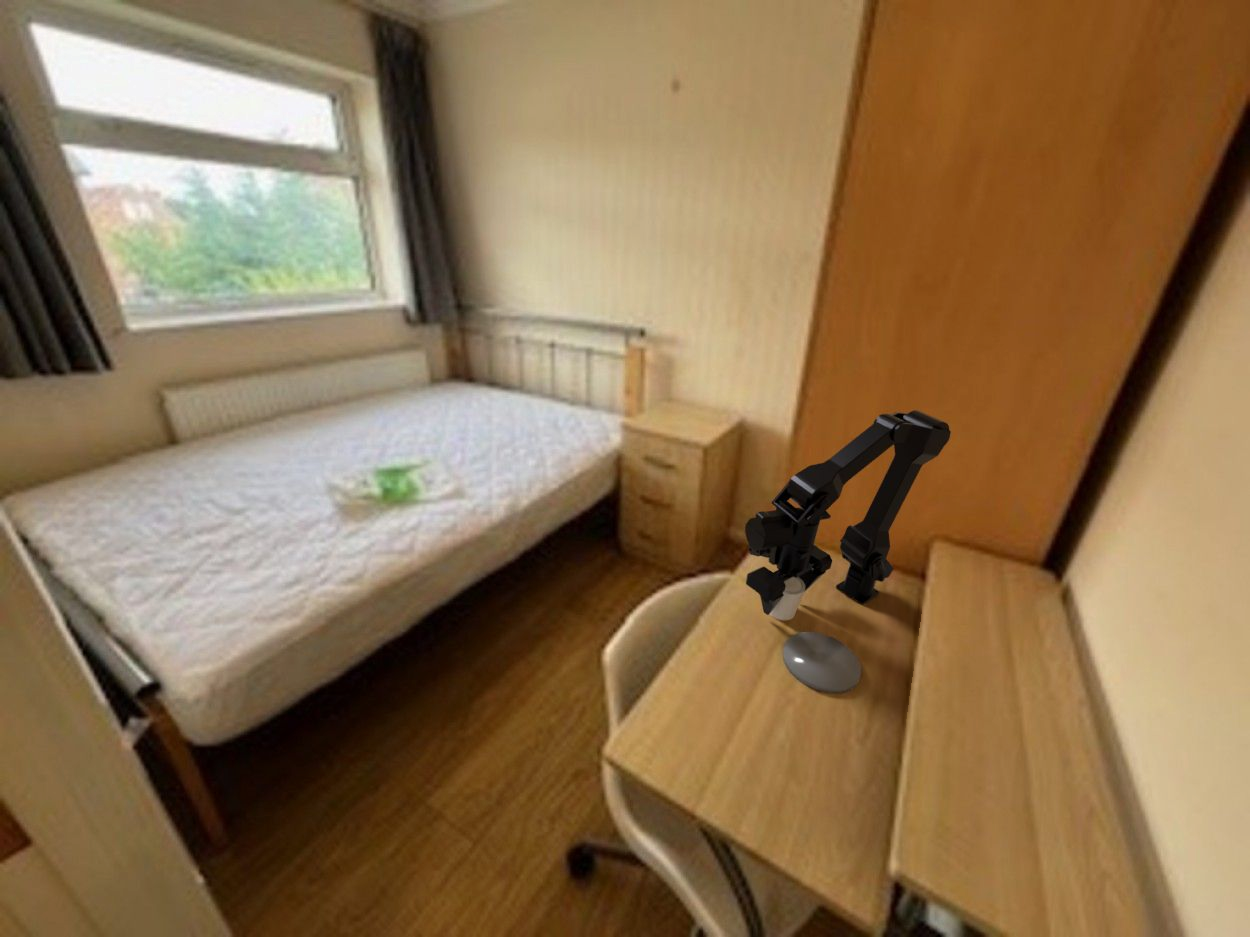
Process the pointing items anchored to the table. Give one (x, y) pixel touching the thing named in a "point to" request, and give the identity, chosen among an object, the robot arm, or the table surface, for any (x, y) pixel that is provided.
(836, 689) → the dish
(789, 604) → the white cup
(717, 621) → the table surface
